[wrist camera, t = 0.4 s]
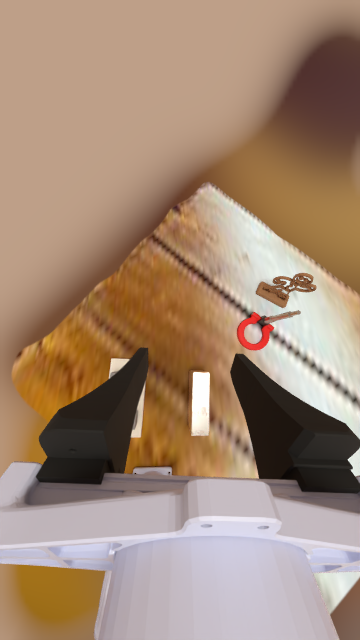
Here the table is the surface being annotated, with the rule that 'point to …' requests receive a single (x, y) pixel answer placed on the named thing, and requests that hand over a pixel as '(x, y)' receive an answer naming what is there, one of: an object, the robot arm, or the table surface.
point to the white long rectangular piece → (198, 403)
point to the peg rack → (137, 426)
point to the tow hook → (265, 330)
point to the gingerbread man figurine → (280, 297)
